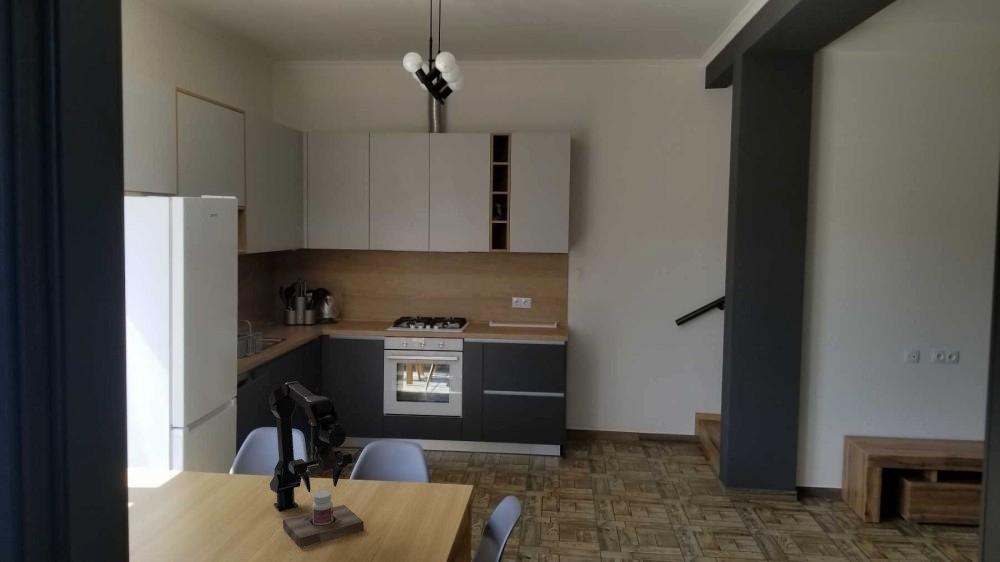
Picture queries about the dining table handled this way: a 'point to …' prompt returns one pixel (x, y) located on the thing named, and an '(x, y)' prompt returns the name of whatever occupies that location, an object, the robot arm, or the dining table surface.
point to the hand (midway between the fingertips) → (322, 489)
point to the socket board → (322, 527)
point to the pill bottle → (322, 509)
